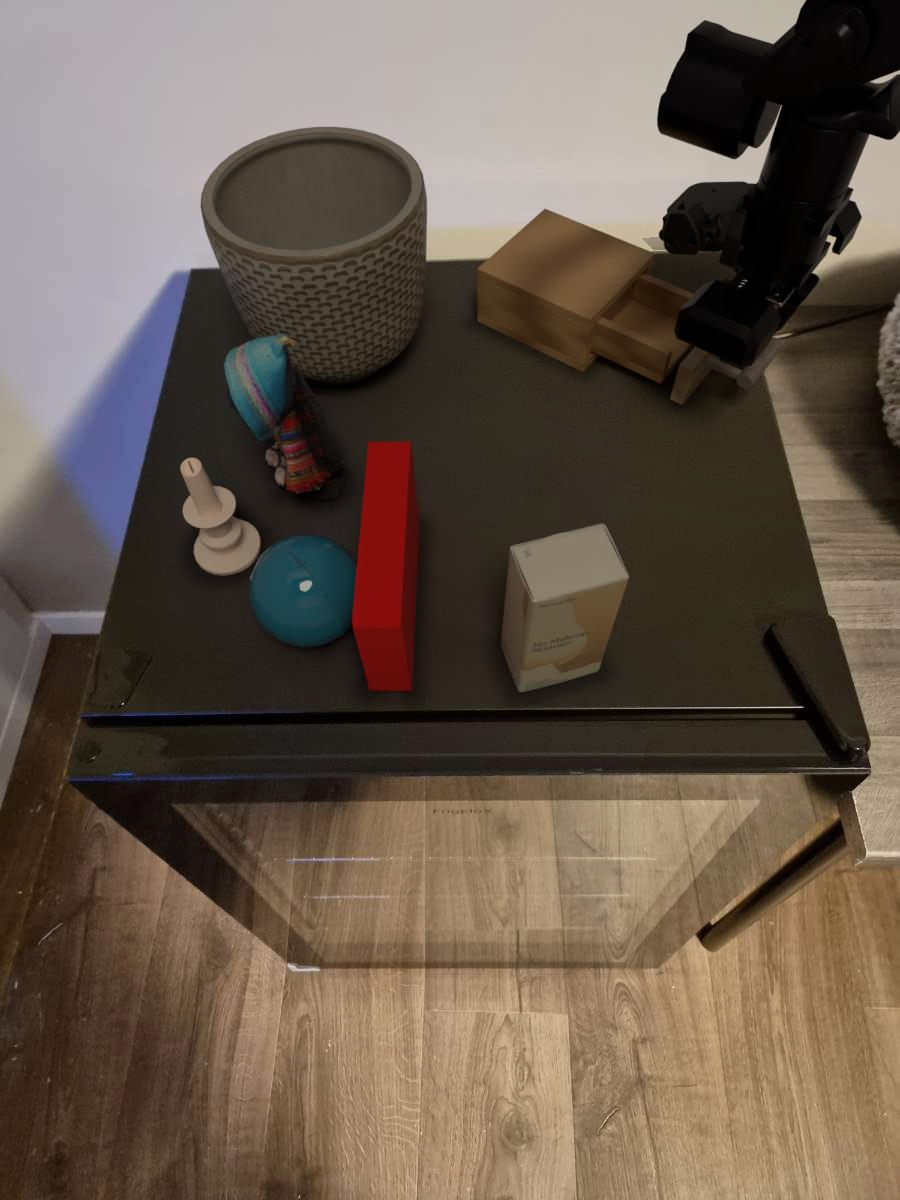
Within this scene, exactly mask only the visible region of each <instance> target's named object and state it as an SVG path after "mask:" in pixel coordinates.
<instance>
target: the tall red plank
mask: <svg viewBox="0 0 900 1200" xmlns="http://www.w3.org/2000/svg"><path fill="white" fill-rule="evenodd" d="M412 445H413V444H412V441H411V440H410V441H409V440H408V441H407V440H406V441H404V440H402V441H401V440H400V441H399V440H398V441H396V440H395V441H393V440H392V441H389V440H388V441H368V444H367V453H366V463H365V464H366V465H365V476H364V487H363V495H362V496H363V497H362V509H361V517H360V518H361V520H360V531H359V541H358V552H357V562H356V563H357V572H356V583H355V594H354V605H353V624H352V630H353V633H354V634H353V635H354V637H355V640H356V641H355V642H356V645H357V648H358V652H359V656H360V659H361V663H362V667H363V670H364V674H365V678H366V682H367V687H368V689H369V692H371V691H373V692H375V691H376V692H380V691H381V692H386V691H387V692H397V691H398V692H411V691H413V679H414V660H415V659H414V656H415V636H416V635H415V634H416V615H417V614H416V613H417V611H416V610H417V589H418V567H419V545H420V544H419V543H420V514H419V505H418V496H417V495H418V494H417V485H416V476H415V475H416V474H415V465H414V464H415V463H414V456H413V446H412Z"/></svg>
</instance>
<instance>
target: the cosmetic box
mask: <svg viewBox="0 0 900 1200" xmlns="http://www.w3.org/2000/svg"><path fill="white" fill-rule="evenodd" d="M508 557H509V558H508V565H507V575H506V576H507V577H506V585H505V593H504V594H505V595H504V606H503V615H502V625H501V635H500V646H501V647H500V648H501V649H502V652H503V656H504V659H505V662H506V665H507V668H508V670H509V673H510V675H511V679H512V681H513V683H514V685H515V688H516V690H517V691H518V693H525V692H528V691H533V690H538V689H542V688H546V687H549V686H552V685H553V686H554V685H557V684H561V683H564V682H568V681H571V680H574V679H578V678H582V677H584V676H587V675H591V674H595V673H597V672H599V671H600V668H601V665H602V662H603V659H604V656H605V653H606V649H607V646H608V643H609V640H610V637H611V634H612V631H613V629H614V625H615V622H616V618H617V615H618V613H619V609H620V606H621V603H622V600H623V597H624V594H625V591H626V588H627V585H628V581H629V578H630V575H629V573H628V571H627V569H626V565H625V564H624V561H623V559H622V557H621V555H620V552H619V550H618V548H617V546H616V544H615V541H614V539H613V537H612V535H611V533H610V531H609V529H608V527H607V525H606V524H605V523H597V524H594V525H590V526H586V527H582V528H577V529H573V530H570V531H565V532H564V531H563V532H558V533H555V534H552V535H548V536H546V537H541V538H537V539H534V540H530V541H526V542H521V543H517V544H513V545H511V546H510V547H509V556H508Z"/></svg>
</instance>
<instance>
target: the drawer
mask: <svg viewBox="0 0 900 1200" xmlns="http://www.w3.org/2000/svg"><path fill="white" fill-rule="evenodd" d="M694 294H695V293H693V292H691V291H688V290H686V289H683V288H681V287H678V286H676V285H673V284H672V283H669V282H666V281H664V280H662V279H660V278H657V277H654V276H652V275H648V274H645V273H642V274H641V275H640V276H639V277H638V278H637V279H636V280H635V281H634V282H633V283H632V284H631V285H630V286H629V287H628V288H627V289H626V290H625V291H624V293H623V294H622V295H621V296H620V297H619V298H618V299H617V300H616V301H615V302H614V303H613V304H612V305H611V306H610V307H609V308H608V309H607V310H606V311H605V312H604V313H603V314H602V315H601V316H600V317H599V318H598V319H597V320H596V322H595V325H594V331H593V338H592V344H591V351H592V352H594V353H596V354H598V355H599V356H601V357H603V358H605V359H607V360H609V361H611V362H613V363H615V364H617V365H620V366H621V367H624V368H626V369H628V370H631V371H633V372H634V373H637V374H639V375H640V376H643V377H645V378H648V379H649V380H652V381H654V382H655V383H658V384H663V382H664V381H665V379H666V378H667V377H669V375H670V373H672V372H673V370H674V369H675V368H676V367H677V365H679V366H678V369H677V371H676V372H677V373H676V376H675V380H674V383H673V386H672V391H671V394H670V397H669V400H671V401H673V402H675V403H677V404H679V405H684V403H685V402H686V401H687V400H688V398H689V397H690V396H691V395H692V394H693V392H694V391H695V390H696V389H697V388H698V386H700V384H701V383H702V382H703V380H705V378H706V377H707V376H708V375H709V373H710V372H711V371H712V370H714V371H716V372H719V373H721V374H723V375H726V376H727V377H730V378H732V379H734V380H736V384H737V386H738V387H739V388H741V389H743V390H750V389H752V387H753V386H754V385H755V383H756V382H757V381H758V380H759V379H760V377H761V376H762V375H763V373H764V372H765V371H766V370H767V368H768V367H769V366H770V364H771V363H772V362H773V360H774V359H775V358H776V357H777V355H778V354H779V353H780V351H781V350H782V348H783V343H782V341H781V339H779V338H778V337H775V336H773V337H772V339H771V340H770V342H769V344H768V346H767V347H766V348H765V349H764V351H763V352H762V353H761V354H760V356H759V357H758V358H757V359H756V361H755V362H754V363H753V364H752V366H744V368H743V369H739V368H737V367H735V366H732V365H730V364H728V363H726V362H724V361H722V360H720V359H721V358H720V357H718V356H715V355H713V354H711V353H709V352H706V351H704V350H702V349H700V348H697V347H695V346H693V345H691V344H688V343H686V342H684V341H682V340H679V339H677V337H676V335H675V333H674V329H675V325H676V321H677V317H678V313H679V310H680V309H681V308H682V307H683V306H684V305H685V304H686V302H687V301H688V300H689V299H690V298H691V297H692V296H693V295H694ZM689 351H690V352H689ZM688 352H689V353H688ZM684 357H685V358H684Z"/></svg>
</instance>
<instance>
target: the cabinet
mask: <svg viewBox="0 0 900 1200" xmlns="http://www.w3.org/2000/svg"><path fill="white" fill-rule="evenodd" d="M655 255H656V253H655V252H652V251H650V250H648V249H645V248H643V247H640V246H637V245H635V244H633V243H631V242H628V241H626V240H624V239H622V238H621V239H620V238H618V237H615V236H613V235H611V234H608V233H606V232H604V231H601V230H599V229H596V228H594V227H591V226H589V225H587V224H584V223H582V222H580V221H577V220H574V219H572V218H570V217H567V216H565V215H562V214H560V213H557V212H554V211H553V210H549V209H547V208H544V209H542V210H541V211H540V212H539V213H538V214H537V215H536V216H535V217H534V218H532V219H531V220H530V221H529V222H527V224H526V225H525V226H523V227H522V228H521V229H520V230H519V231H518V232H517V233H516V234H515V235H513V236H512V237H511V238H510V239H509V240H508V241H506V243H504V244H503V246H501V247H500V248H499V249H498V250H497V251H495V253H493V254H491V256H490V257H488V258H487V259H486V261H484V262H483V263H481V265H480V266H478V267H477V277H476V281H477V283H476V284H477V285H476V286H477V289H476V290H477V291H476V292H477V293H476V299H477V300H476V302H477V304H476V305H477V306H476V307H477V310H476V312H477V315H476V317H477V319H476V320H477V323H479V324H482V325H484V326H486V327H488V328H490V329H492V330H494V331H496V332H498V333H500V334H503V335H504V336H507V337H509V338H511V339H513V340H515V341H517V342H519V343H522V344H523V345H525V346H526V347H527V346H528V347H530V348H531V349H533V350H536V351H538V352H539V353H541V354H545V355H546V356H548V357H550V358H553V359H555V360H557V361H558V362H561V363H562V364H565V365H567V366H569V367H571V368H573V369H575V370H577V371H579V372H581V373H584V372H585V371H586V370H587V369H588V368H589V366H590V365H591V364H592V363H593V362H594V361H595V360H596V359H597V358H598V357H599V356H600V355H598V354H596V353H594V352H592V351H591V344H592V338H593V331H594V325H595V322H596V320H597V319H598V318H599V317H600V316H601V315H602V314H603V313H604V312H605V311H606V310H607V309H608V308H609V307H610V306H611V305H612V304H613V303H614V302H615V301H616V300H617V299H618V298H619V297H620V296H621V295H622V294H623V293H624V291H625V290H626V289H627V288H628V287H629V286H630V285H631V284H632V283H633V282H634V281H635V280H636V279H637V278H638V277H639V276H640V275H641V274H642V273H645V274H648V275H650V276H652V270H653V264H654V260H655Z"/></svg>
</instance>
